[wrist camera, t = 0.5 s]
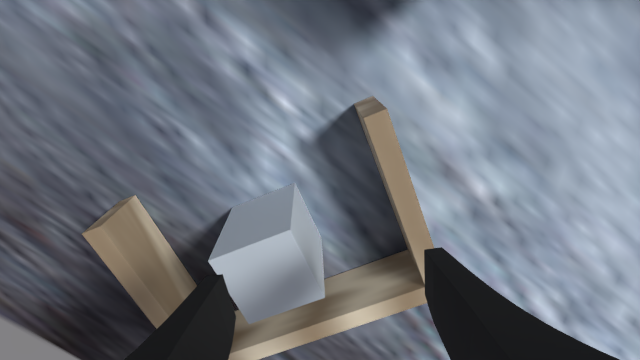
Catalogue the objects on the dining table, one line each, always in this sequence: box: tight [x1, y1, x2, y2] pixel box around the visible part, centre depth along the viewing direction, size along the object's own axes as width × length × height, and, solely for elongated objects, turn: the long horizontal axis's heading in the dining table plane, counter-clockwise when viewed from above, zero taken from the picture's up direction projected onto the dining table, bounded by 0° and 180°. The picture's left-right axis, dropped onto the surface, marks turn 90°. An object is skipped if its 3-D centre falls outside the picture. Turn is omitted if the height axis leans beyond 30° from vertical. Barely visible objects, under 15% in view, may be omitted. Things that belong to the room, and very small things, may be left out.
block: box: [208, 183, 325, 324], centre depth 21 cm, size 4×4×6 cm
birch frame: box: [82, 96, 434, 360], centre depth 22 cm, size 17×12×4 cm
